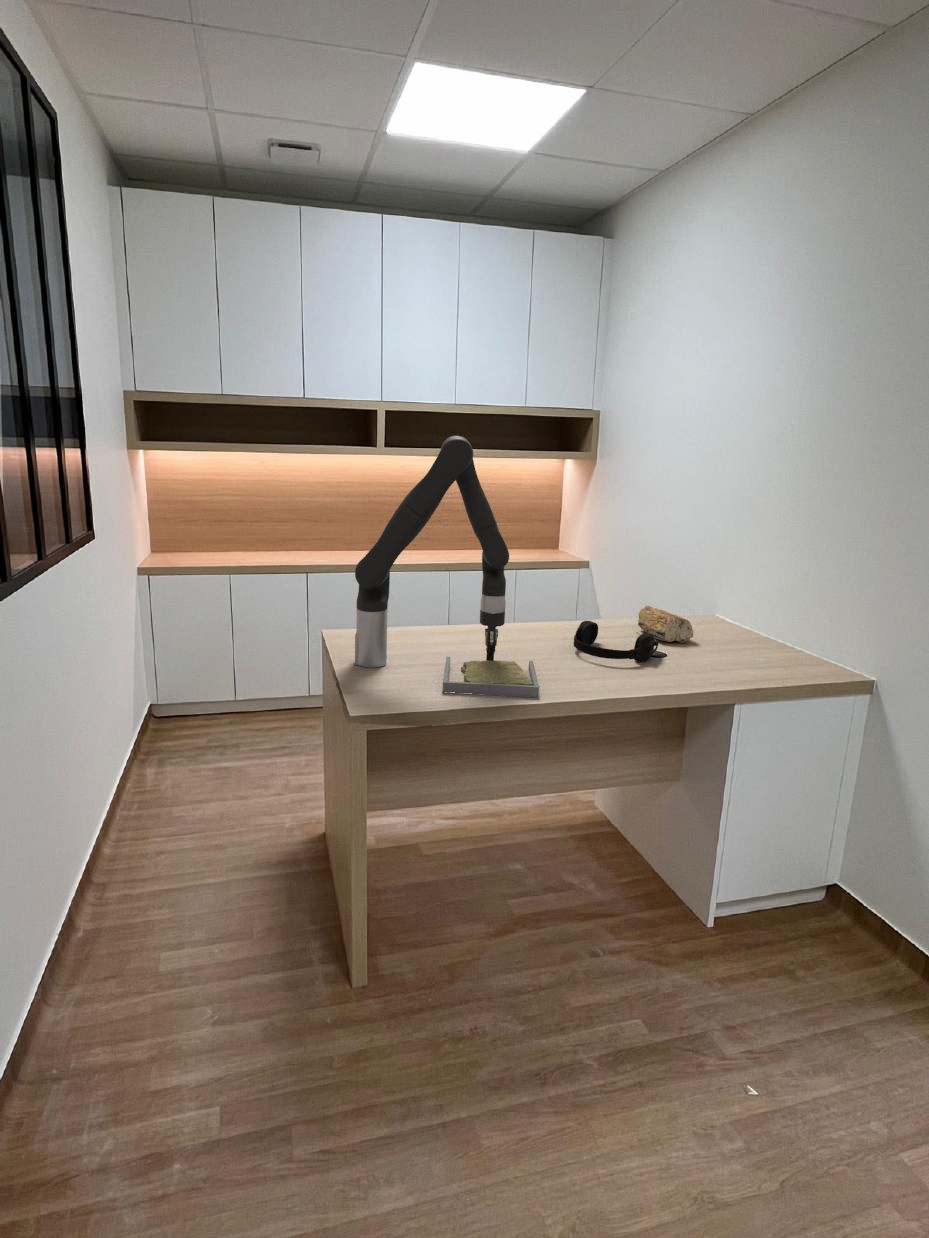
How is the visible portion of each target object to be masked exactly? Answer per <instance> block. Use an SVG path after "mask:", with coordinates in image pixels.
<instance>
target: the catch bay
mask: <svg viewBox="0 0 929 1238" xmlns="http://www.w3.org/2000/svg"><path fill="white" fill-rule="evenodd" d="M450 668H451V656H446V659H445V666H444V673H443V681H442V693H443V692H455V693H454V694H457V693H472V694H471V695H476V694H484V695H483V696H496V695H505V696H504V697H516V698H517V696H518V697H520V698H521V697H522V698H539V693H540V685H539V682H538V676H537V672H536V667H535V663H534V660H528V674H530V675H529V679H530V680H531V682H532V683H533V686H532V685H512V684H492V683H472V682H464V681H452V680H451V681H450V680H449V678H450V670H451V669H450Z"/></svg>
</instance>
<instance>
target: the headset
mask: <svg viewBox="0 0 929 1238" xmlns="http://www.w3.org/2000/svg"><path fill="white" fill-rule="evenodd" d="M636 634H638V635H639V636H637V638H636V640H635V643H634V648H632V649H629V650H624V649H623V650H620V649H610V648H605V647H599V646H594V645H593V644H594V643H595V641H596V640H597V637H598V635H599V625H598V623H597V622H596V621H595V622H594V621H592V620H583V621H581V622H580V624H579V626H578V628H577V629H576V631H575V635H573V648H576V649H577V650H578V651H580V652H581V653H582V654H586V655H589V656H592V657H596V658H600V659H607V660H608V659H609V660H634V661H636V662H639V663H645V662H648V661H649V660H650V659H651V657H652V656H653V654H655V652H656V651H657V650H658V647H659V645H660V644H659V643H660V641H656V640H655V639H656V638H654V636H653V634H652V633H647V632H644V633H641V634H640V633H639V631H638V632H636Z"/></svg>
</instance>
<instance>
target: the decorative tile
mask: <svg viewBox="0 0 929 1238" xmlns="http://www.w3.org/2000/svg"><path fill="white" fill-rule="evenodd" d="M460 671H461V673H462V672H463V673H464V674H463V673H462V674H463V682H472V683H492V684H512V685H532V686H533V683H532V682H531V680H530V676H529V675H527V674H526V672H525V671H524V670H523V668H522V667H521V666H520V665H519V664H518V663H517V662H516V661H514V660H513V661H511V660H510V661H507V660H493V661H489V660H486V659H485V660H470V661H464V662H463V665H461V667H460Z"/></svg>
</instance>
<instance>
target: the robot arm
mask: <svg viewBox="0 0 929 1238" xmlns="http://www.w3.org/2000/svg"><path fill="white" fill-rule="evenodd" d="M476 470H477V469H476V466H475V462H474V449H473V446H472V444H471V443H470V441H469V440H468V439H466V437H464V436H462V435H461V436H460V435H452V436H449V437H448V438H446V439H445V440H444V441H443V443H442V444H441V447H440V450H439V453H438V454H437V457H436V458H435V460H434V462H433V463H432V465H431V467H430V468H429V470H428V471H427V472H426V474H425V475H424V477H423V478H422V479H420V480H419V481H418V483H417V484H416V485H415V486H414V487H412V489H411V490H410V491H409V492H408V493H407V495H406V496H405V497H404V498H403V500H402V501H401V503H400V504H399V505H398V507H397V508H396V510H395V511H394V513H393V514H392V516H391V518H390V519H389V521H388V522H387V524H386V526H385V528H384V530H383V532H382V533H381V534H380V537H379V539H378V540H377V542H375V544H374V545H373V546H372V547H371V549H370V550H369V551H368V552H367V553H366V554H365V555H364V557H363V558H362V559H360V560H359V562H357V564H356V566H355V570H354V576H355V581H356V582H357V584H358V592H357V597H356V624H355V625H356V626H355V627H356V632H355V634H354V665H355V666H360V667H364V668H379V667H383V666H385V665H387V661H388V660H387V659H388V655H387V654H388V653H387V651H388V612H389V611H388V605H389V598H390V579H391V571H390V570H391V568H392V566H393V565H394V563H395V561H396V560H397V559H398V557H399V556H400V555H401V553H403V551H404V550H405V549H406V548H407V547H408V546H409V545H410V544H411V543H412V542H413V541H414V539H416V537H417V536H418V535H419V534H420V532H421V531H422V530H423V529H424V528H425V526H426V525H427V523H428V522H429V521H430V519H431V518H432V516H433V515H434V513H435V512H436V510H437V508H438V507H439V505H440V503H441V502H442V500H443V498H444V496H445V495H446V493H447V492H448V490H449V489H450V488H451V486H452V485H453V484H454V483H455V482H456V484H457V487H458V489H459V492H460V495H461V498H462V500H463V501H462V502H463V505H464V508H465V511H466V514H467V517H468V520H469V522H470V525H471V527H472V528H471V529H472V530H473V533H474V534H475V535H474V536H476V538H477V539H478V541H479V543H480V546H481V550H482V553H481V567H482V584H481V585H482V587H481V588H482V589H481V595H480V597H481V598H480V606H479V607H480V608H479V623H480V624H481V625H482V626H484V627H487V628H484V636H485V640H484V643H485V646H486V647H485V651H486V657H485V660H489V661H493V660H494V659H495V653H496V646H498V645H497V644H498V638H499V628H497V627H503V626H504V625H505V621H506V619H505V617H506V603H507V602H506V588H507V579H506V576H505V567H506V565H508V563H509V560H510V551H509V549H508V547H507V544H506V542H505V540H504V538H503V536H502V533H501V532H500V530H499V527H498V523H497V521H496V518H495V516H494V515H495V514H494V513H493V510H492V508H491V507H492V506H491V505H490V503H489V500H488V498H487V496H486V495H485V494H486V493H485V491H484V489H483V487H482V485H481V481H480V480H479V476H478V474H477V471H476Z"/></svg>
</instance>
